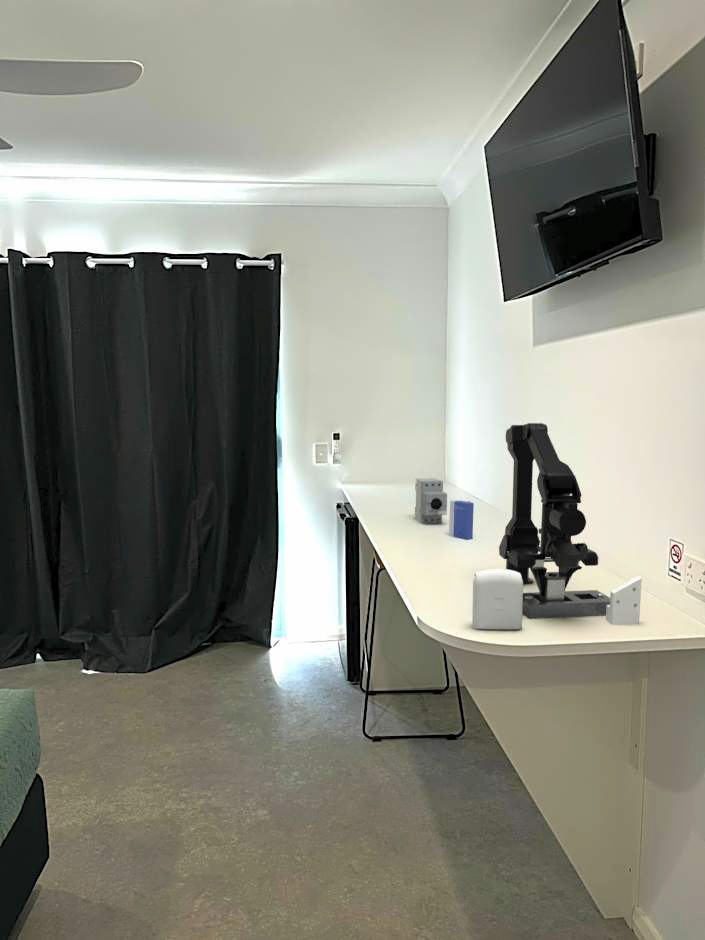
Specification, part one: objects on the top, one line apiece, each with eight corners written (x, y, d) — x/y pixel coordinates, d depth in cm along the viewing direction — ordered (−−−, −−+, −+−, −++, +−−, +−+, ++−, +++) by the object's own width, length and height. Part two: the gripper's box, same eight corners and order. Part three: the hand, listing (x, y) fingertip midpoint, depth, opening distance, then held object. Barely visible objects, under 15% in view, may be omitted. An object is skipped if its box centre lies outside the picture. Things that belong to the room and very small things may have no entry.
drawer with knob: (538, 598, 170) (539, 571, 169) (556, 597, 171) (557, 570, 170) (546, 604, 166) (547, 576, 165) (565, 603, 166) (566, 575, 166)
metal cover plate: (513, 606, 172) (514, 591, 171) (595, 602, 175) (596, 588, 175) (529, 618, 163) (529, 603, 162) (615, 614, 166) (616, 599, 166)
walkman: (472, 538, 243) (473, 501, 242) (466, 539, 242) (467, 502, 240) (454, 534, 249) (455, 498, 248) (448, 535, 248) (449, 499, 246)
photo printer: (473, 630, 155) (474, 571, 154) (470, 623, 159) (472, 566, 158) (523, 631, 155) (526, 572, 153) (519, 624, 159) (522, 567, 157)
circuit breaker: (427, 527, 262) (428, 484, 260) (414, 519, 275) (415, 478, 274) (448, 526, 263) (449, 483, 262) (434, 518, 277) (435, 478, 275)
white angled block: (660, 613, 160) (641, 578, 159) (618, 636, 160) (599, 601, 159) (652, 607, 163) (634, 573, 162) (611, 630, 164) (593, 596, 163)
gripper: (528, 535, 157) (525, 608, 159) (612, 532, 160) (608, 604, 162) (509, 524, 168) (506, 593, 170) (587, 522, 171) (584, 590, 173)
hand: (551, 595), depth 168 cm, fingers closed on drawer with knob, 4 cm apart
